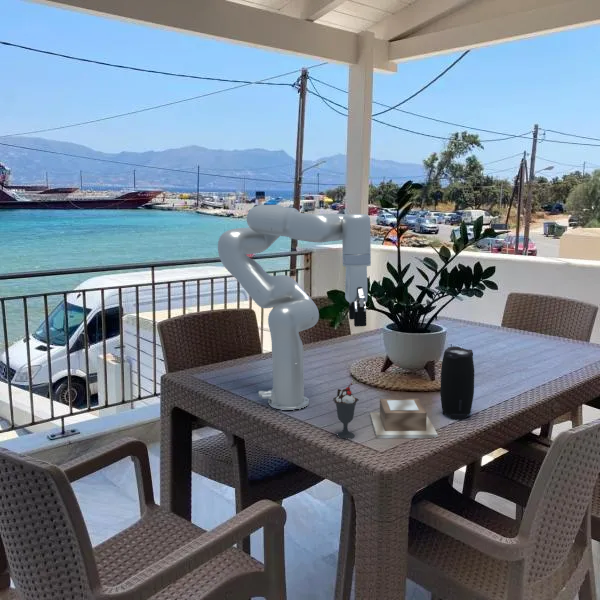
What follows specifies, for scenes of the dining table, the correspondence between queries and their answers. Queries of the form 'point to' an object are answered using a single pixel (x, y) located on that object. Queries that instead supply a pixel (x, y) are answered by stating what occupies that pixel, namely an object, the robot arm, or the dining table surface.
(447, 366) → the portable speaker
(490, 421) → the dining table surface
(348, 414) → the sundae
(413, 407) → the pedestal
